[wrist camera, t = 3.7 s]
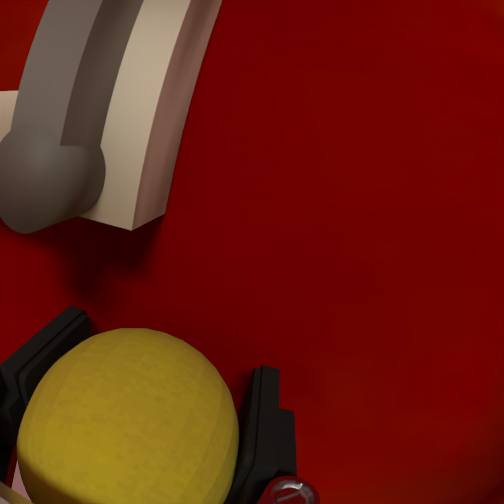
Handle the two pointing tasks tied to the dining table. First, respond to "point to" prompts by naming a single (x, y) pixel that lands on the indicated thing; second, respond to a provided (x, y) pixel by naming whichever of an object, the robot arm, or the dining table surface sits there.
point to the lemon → (129, 425)
